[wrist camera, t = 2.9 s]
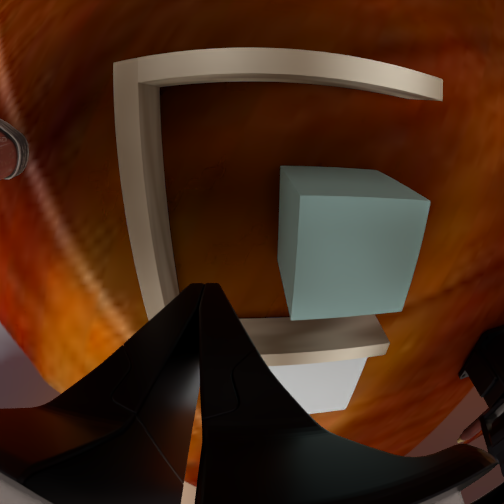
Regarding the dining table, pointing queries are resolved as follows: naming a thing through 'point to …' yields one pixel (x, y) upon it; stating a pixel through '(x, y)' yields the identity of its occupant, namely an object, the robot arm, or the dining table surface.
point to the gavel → (471, 429)
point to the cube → (347, 241)
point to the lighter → (12, 151)
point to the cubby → (154, 192)
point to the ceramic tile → (321, 383)
